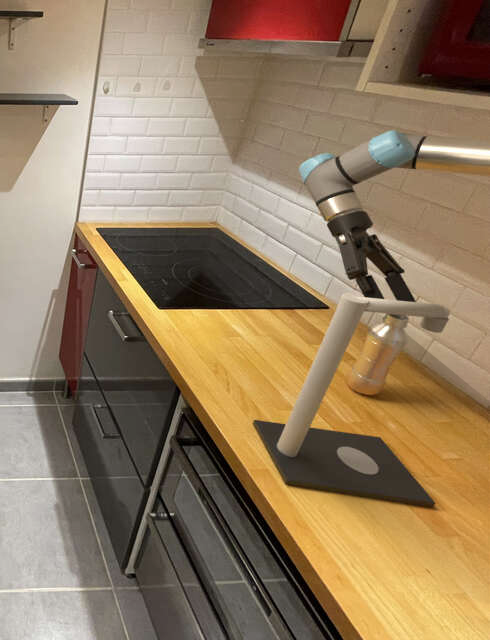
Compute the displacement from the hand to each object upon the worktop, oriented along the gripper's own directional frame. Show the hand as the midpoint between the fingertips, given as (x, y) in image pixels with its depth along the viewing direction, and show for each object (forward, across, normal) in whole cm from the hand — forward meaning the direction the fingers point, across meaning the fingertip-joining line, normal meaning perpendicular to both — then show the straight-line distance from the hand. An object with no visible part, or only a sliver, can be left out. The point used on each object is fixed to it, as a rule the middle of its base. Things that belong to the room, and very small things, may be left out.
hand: (394, 305), depth 95 cm
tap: (+26, +24, -12) cm, 37 cm away
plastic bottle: (+16, -3, -14) cm, 22 cm away
